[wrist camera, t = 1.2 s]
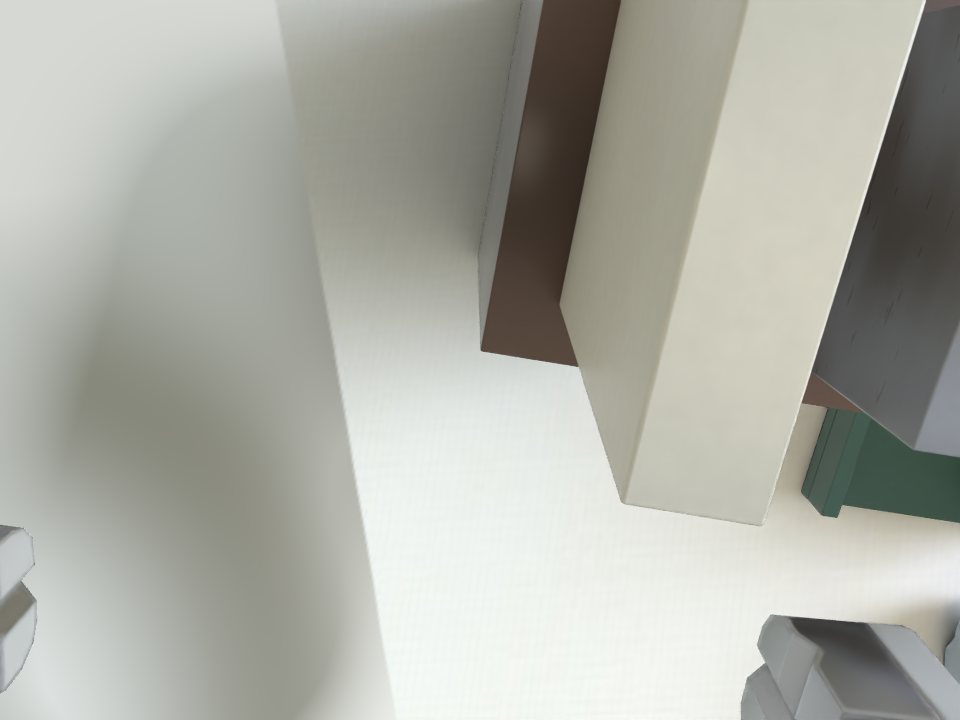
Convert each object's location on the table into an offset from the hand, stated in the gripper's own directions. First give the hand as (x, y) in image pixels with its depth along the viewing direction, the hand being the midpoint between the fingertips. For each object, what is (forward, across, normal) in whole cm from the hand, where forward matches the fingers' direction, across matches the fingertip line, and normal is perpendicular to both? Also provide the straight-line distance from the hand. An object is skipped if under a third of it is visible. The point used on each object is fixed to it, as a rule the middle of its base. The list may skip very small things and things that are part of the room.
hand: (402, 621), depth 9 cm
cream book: (+18, -5, -5) cm, 19 cm away
